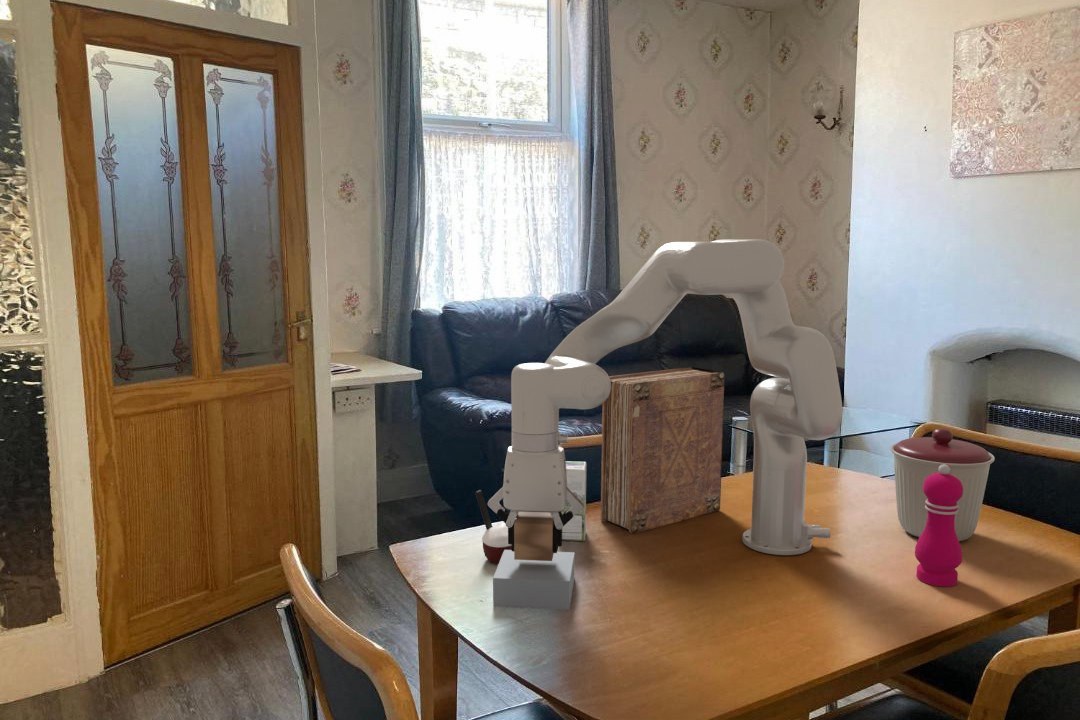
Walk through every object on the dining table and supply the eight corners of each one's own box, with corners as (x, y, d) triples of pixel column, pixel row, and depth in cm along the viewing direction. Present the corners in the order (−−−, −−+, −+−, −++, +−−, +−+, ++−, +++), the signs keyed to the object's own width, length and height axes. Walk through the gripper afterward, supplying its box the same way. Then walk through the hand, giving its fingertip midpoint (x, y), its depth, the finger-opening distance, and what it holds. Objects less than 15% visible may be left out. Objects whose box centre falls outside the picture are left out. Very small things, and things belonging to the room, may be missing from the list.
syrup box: (586, 531, 161) (586, 460, 159) (585, 542, 155) (585, 468, 153) (557, 530, 161) (557, 459, 159) (555, 541, 156) (555, 467, 154)
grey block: (574, 580, 138) (574, 552, 138) (569, 611, 127) (569, 581, 126) (504, 577, 140) (504, 549, 139) (493, 608, 128) (492, 578, 127)
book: (629, 534, 159) (631, 383, 155) (600, 521, 167) (601, 377, 163) (720, 510, 173) (724, 371, 169) (689, 499, 181) (693, 366, 177)
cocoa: (527, 565, 145) (530, 501, 143) (497, 572, 141) (500, 506, 139) (498, 547, 153) (501, 486, 151) (469, 553, 149) (472, 490, 147)
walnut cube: (555, 547, 135) (555, 512, 134) (551, 561, 129) (551, 524, 128) (519, 545, 135) (519, 511, 135) (514, 559, 130) (514, 523, 129)
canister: (886, 542, 155) (892, 434, 152) (885, 513, 171) (890, 415, 168) (994, 556, 148) (1003, 443, 145) (981, 524, 164) (989, 422, 162)
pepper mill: (941, 591, 133) (950, 472, 130) (903, 575, 139) (911, 462, 136) (970, 583, 136) (978, 467, 133) (931, 568, 143) (939, 457, 140)
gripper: (590, 436, 132) (589, 543, 135) (485, 434, 134) (486, 539, 137) (588, 448, 125) (587, 560, 127) (477, 445, 127) (478, 555, 129)
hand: (535, 548), depth 132 cm, fingers closed on walnut cube, 6 cm apart
